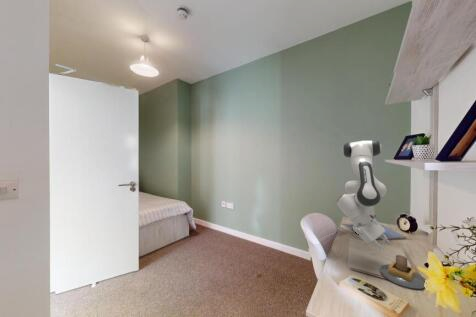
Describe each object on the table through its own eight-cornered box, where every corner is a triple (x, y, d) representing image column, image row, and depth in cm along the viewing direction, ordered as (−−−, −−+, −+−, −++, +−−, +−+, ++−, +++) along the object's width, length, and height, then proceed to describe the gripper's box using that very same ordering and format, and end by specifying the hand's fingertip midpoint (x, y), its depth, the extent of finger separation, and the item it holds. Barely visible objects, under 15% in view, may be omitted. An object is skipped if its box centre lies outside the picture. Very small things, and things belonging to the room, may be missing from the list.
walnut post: (397, 270, 88) (397, 254, 88) (408, 274, 85) (408, 257, 85) (395, 273, 86) (394, 256, 86) (406, 278, 82) (405, 260, 82)
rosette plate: (386, 263, 96) (386, 255, 96) (429, 279, 83) (429, 269, 83) (375, 275, 87) (375, 266, 87) (422, 295, 74) (422, 284, 74)
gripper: (358, 223, 90) (383, 250, 83) (373, 214, 102) (396, 237, 95) (349, 229, 94) (372, 256, 86) (365, 220, 106) (386, 243, 98)
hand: (385, 246), depth 90 cm, fingers open, 8 cm apart
